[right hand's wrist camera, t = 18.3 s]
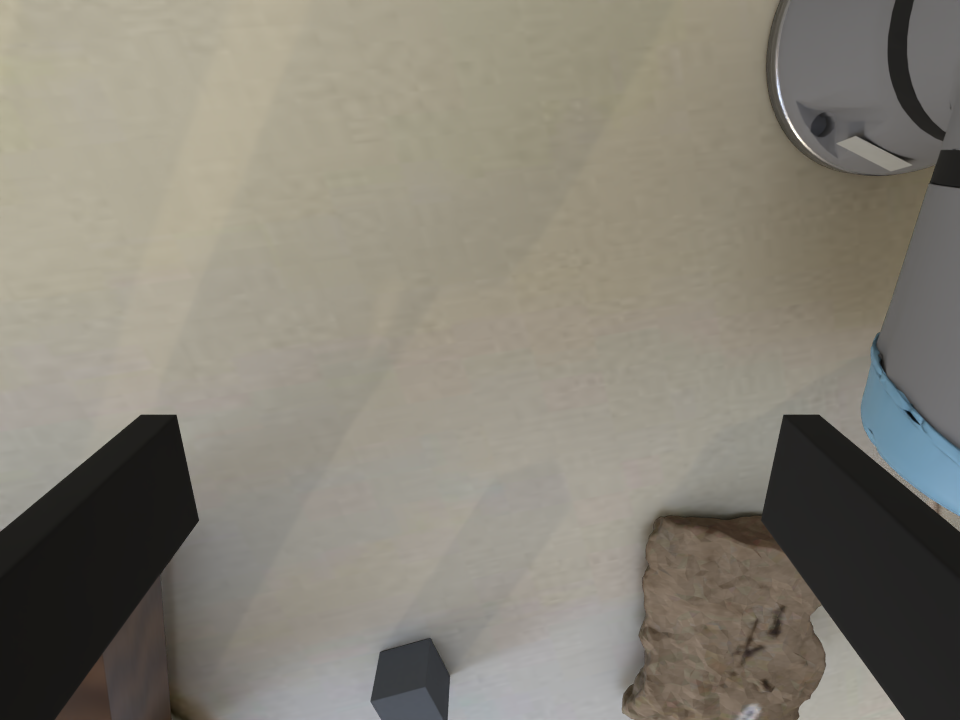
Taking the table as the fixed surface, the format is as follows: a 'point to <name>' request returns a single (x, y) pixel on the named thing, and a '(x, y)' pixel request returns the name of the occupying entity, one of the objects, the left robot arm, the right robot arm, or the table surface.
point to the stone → (723, 625)
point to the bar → (128, 671)
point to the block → (411, 683)
